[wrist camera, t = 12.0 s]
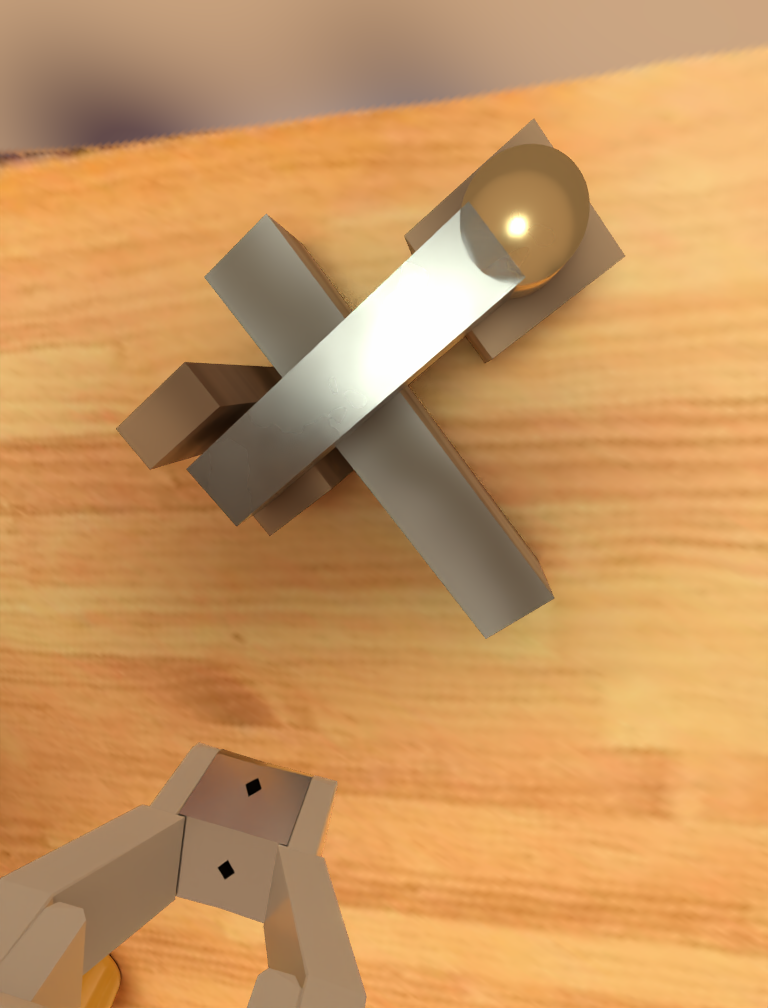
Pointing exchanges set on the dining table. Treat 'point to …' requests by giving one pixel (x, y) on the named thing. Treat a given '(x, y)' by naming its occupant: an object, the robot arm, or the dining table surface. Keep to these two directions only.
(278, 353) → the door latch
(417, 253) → the bar
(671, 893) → the dining table surface
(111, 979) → the plant pot
